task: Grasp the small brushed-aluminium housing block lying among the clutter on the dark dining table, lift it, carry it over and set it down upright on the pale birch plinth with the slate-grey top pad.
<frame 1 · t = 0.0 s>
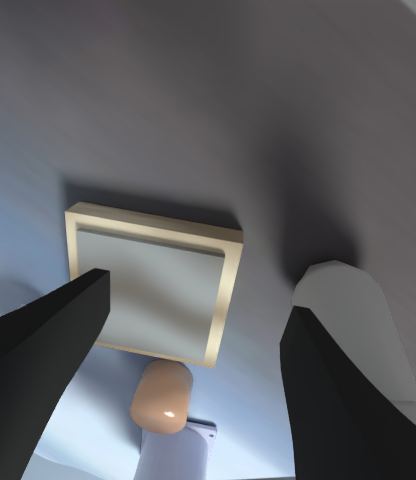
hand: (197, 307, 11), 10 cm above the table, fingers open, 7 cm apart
birch plinth: (155, 283, 24), on the table
peach rounded cylinder: (168, 376, 29), on the table
salt shaker: (326, 281, 22), on the table
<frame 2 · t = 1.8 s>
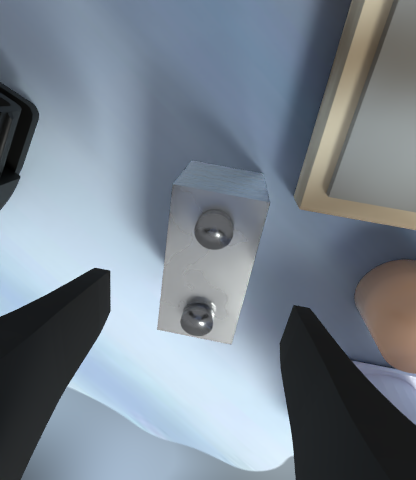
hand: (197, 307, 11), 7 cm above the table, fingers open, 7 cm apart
peach rounded cylinder: (396, 293, 18), on the table
alloy housing: (215, 230, 18), on the table
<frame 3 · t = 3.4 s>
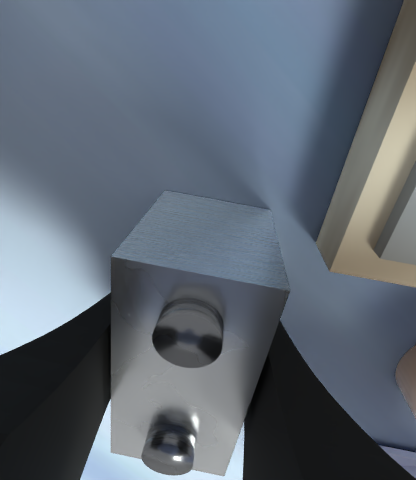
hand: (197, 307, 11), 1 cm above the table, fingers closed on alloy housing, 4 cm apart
alloy housing: (202, 286, 13), on the table, touching gripper
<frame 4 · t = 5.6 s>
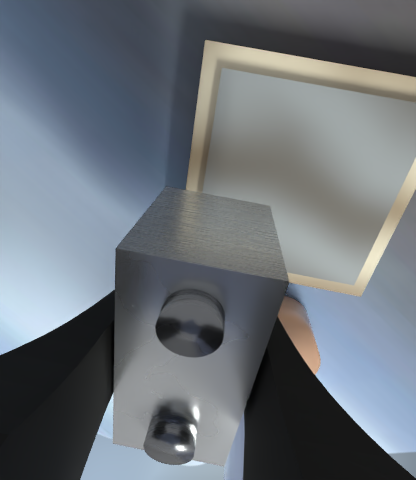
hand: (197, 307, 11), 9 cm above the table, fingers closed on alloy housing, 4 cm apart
birch plinth: (290, 179, 18), on the table
peach rounded cylinder: (274, 320, 23), on the table
alloy housing: (202, 281, 13), point 7 cm above the table, touching gripper
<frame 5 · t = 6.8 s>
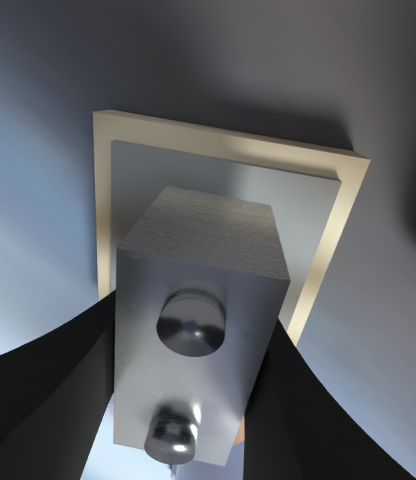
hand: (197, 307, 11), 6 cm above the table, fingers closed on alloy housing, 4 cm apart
birch plinth: (212, 238, 17), on the table
alloy housing: (202, 281, 13), point 5 cm above the table, touching gripper
when the fingers open (5 cm above the table, at t = 7.9 s): alloy housing stays where it is, resting on birch plinth.
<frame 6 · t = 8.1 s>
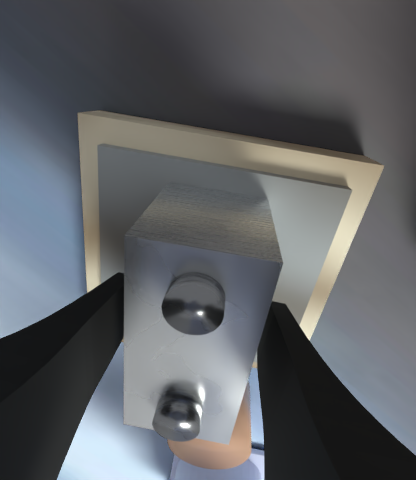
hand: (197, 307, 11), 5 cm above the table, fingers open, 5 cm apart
birch plinth: (210, 248, 16), on the table
peach rounded cylinder: (214, 385, 21), on the table
alloy housing: (205, 272, 13), point 2 cm above the table, touching birch plinth
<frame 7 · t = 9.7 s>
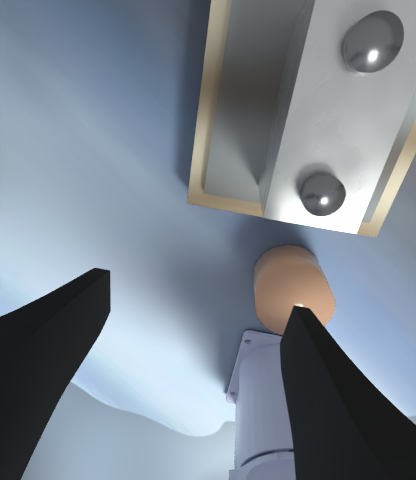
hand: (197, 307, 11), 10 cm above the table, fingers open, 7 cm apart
birch plinth: (303, 115, 17), on the table
peach rounded cylinder: (286, 273, 22), on the table
alloy housing: (312, 117, 15), point 2 cm above the table, touching birch plinth
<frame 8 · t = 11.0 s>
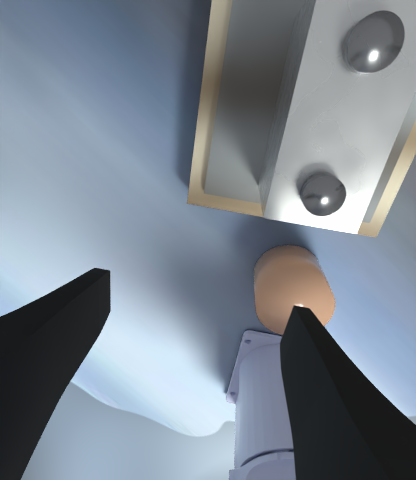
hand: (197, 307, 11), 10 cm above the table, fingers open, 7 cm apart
birch plinth: (303, 115, 17), on the table
peach rounded cylinder: (286, 273, 22), on the table
alloy housing: (312, 117, 15), point 2 cm above the table, touching birch plinth
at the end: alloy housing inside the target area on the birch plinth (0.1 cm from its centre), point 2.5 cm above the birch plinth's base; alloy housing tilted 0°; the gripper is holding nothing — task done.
